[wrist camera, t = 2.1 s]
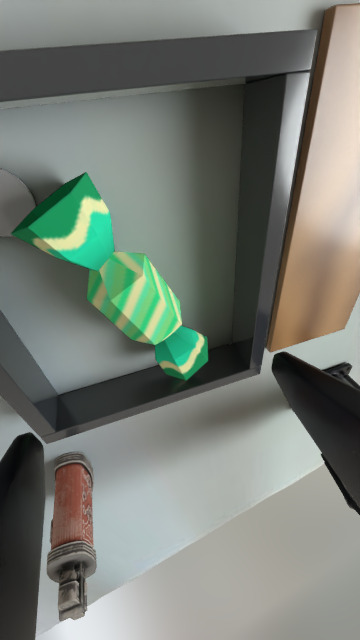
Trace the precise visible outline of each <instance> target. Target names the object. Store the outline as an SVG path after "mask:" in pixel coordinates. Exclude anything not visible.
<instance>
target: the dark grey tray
mask: <svg viewBox="0 0 360 640" xmlns="http://www.w3.org/2000/svg"><path fill="white" fill-rule="evenodd" d="M316 35H317V29H308V30H293V31H278V32H264V33H249V34H235V35H220V36H206V37H191V38H177V39H162V40H148V41H133V42H119V43H104V44H90V45H75V46H60V47H46V48H31V49H17V50H2V51H0V109H8V108H18V107H27V106H37V105H46V104H55V103H65V102H74V101H84V100H93V99H102V98H112V97H121V96H131V95H140V94H149V93H159V92H168V91H178V90H187V89H196V88H206V87H215V86H225V85H234V84H244V83H246V84H245V93H244V113H243V133H242V153H241V173H240V193H239V212H238V232H237V252H236V272H235V292H234V312H233V332H232V344H229V345H226V346H222V347H219V348H216V349H212V350H209V351H208V361H207V362H206V363H205V364H204V365H203V366H202V367H201V368H200V369H199V370H198V371H196V372H195V373H194V374H193V375H192V376H191V377H190V378H189V379H188V380H187V381H186V380H183V379H180V378H177V377H173V376H170V375H167V374H166V373H165V372H164V370H163V369H162V367H161V366H160V365H159V366H156V367H153V368H149V369H146V370H143V371H139V372H136V373H133V374H129V375H126V376H123V377H119V378H116V379H113V380H109V381H106V382H103V383H99V384H96V385H93V386H89V387H86V388H83V389H79V390H76V391H73V392H69V393H66V394H63V395H59V396H58V394H57V392H56V391H55V389H54V388H53V387H52V385H51V384H50V382H49V381H48V379H47V378H46V376H45V375H44V373H43V372H42V370H41V369H40V368H39V366H38V365H37V363H36V362H35V360H34V359H33V357H32V356H31V354H30V353H29V351H28V350H27V349H26V347H25V346H24V344H23V343H22V341H21V340H20V338H19V337H18V335H17V334H16V332H15V331H14V329H13V328H12V327H11V325H10V324H9V322H8V321H7V319H6V318H5V316H4V315H3V313H2V312H1V310H0V395H1V396H2V397H3V398H4V399H5V400H6V401H7V402H8V403H9V404H10V405H11V406H12V407H13V409H14V410H15V411H16V412H17V413H18V414H19V415H20V416H21V417H22V418H23V419H24V420H25V421H26V422H27V424H28V425H29V426H30V427H31V428H32V429H33V430H34V431H35V432H36V433H37V434H38V435H39V436H40V437H41V438H42V440H43V441H44V442H45V443H46V444H48V443H51V442H55V441H58V440H61V439H64V438H67V437H70V436H73V435H76V434H79V433H82V432H85V431H88V430H91V429H94V428H97V427H100V426H103V425H106V424H109V423H112V422H115V421H118V420H121V419H124V418H127V417H130V416H133V415H136V414H139V413H142V412H145V411H148V410H152V409H155V408H158V407H161V406H164V405H167V404H170V403H173V402H176V401H179V400H182V399H185V398H188V397H191V396H194V395H197V394H200V393H203V392H206V391H209V390H212V389H215V388H218V387H221V386H224V385H227V384H230V383H233V382H236V381H239V380H242V379H245V378H249V377H252V376H255V375H258V374H260V370H261V365H262V359H263V353H264V347H265V341H266V335H267V329H268V323H269V317H270V311H271V305H272V299H273V293H274V287H275V281H276V275H277V269H278V263H279V257H280V251H281V245H282V239H283V233H284V227H285V221H286V215H287V209H288V203H289V197H290V191H291V185H292V179H293V173H294V167H295V161H296V155H297V149H298V143H299V137H300V131H301V125H302V119H303V113H304V107H305V101H306V95H307V89H308V83H309V77H310V70H311V65H312V59H313V53H314V47H315V41H316ZM35 207H36V204H35V200H34V198H33V196H32V194H31V192H30V190H29V189H28V188H27V186H26V185H25V184H24V183H23V182H22V181H21V180H20V179H19V178H18V177H16V176H15V175H13V174H12V173H10V172H8V171H6V170H4V169H1V168H0V236H6V237H11V236H14V235H12V234H11V232H12V231H13V230H14V229H15V228H16V227H17V226H18V225H19V224H20V223H21V222H22V220H23V219H24V218H25V217H26V216H27V215H28V214H29V213H30V212H31V211H32V210H33V209H34V208H35Z"/></svg>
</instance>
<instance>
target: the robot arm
mask: <svg viewBox="0 0 360 640" xmlns="http://www.w3.org/2000/svg"><path fill="white" fill-rule="evenodd" d="M351 368H352V365H351V364H349V363H346V364H344V365H341V366H338V367H335V368H332V369H329V370H326V371H322V370H320V369H318V368H316V367H314V366H312V365H310V364H308V363H307V362H305V361H303V360H301V359H299V358H297V357H295V356H293V355H291V354H289V353H287V352H280V353H277V354H275V355H274V358H273V363H272V372H273V375H274V376H275V378H276V380H277V382H278V384H279V386H280V388H281V389H282V391H283V393H284V395H285V397H286V399H287V401H288V402H289V404H290V406H291V408H292V410H293V412H295V414H296V415H297V417H298V418H299V420H300V421H301V423H302V424H303V426H304V427H305V428H306V430H307V431H308V433H309V434H310V436H311V437H312V439H313V440H314V442H315V443H316V445H317V446H318V448H319V449H320V450H321V452H322V454H321V456H322V458H323V460H324V461H325V462H324V463H325V465H326V466H327V468H328V470H329V472H330V473H331V475H332V477H333V478H334V480H335V482H336V484H337V485H338V487H339V489H340V490H341V492H342V494H343V496H344V498H345V500H346V502H347V504H348V506H349V507H350V508H352V509H354V510H356V512H357V513H358V514H359V515H360V386H359V385H358V384H357V383H356V382H355V381H354V380H353V379H352V378H351V377H350V376H349V375H348V374H349V372H350V370H351ZM44 510H45V473H44V449H43V445H42V443H41V442H40V441H39V440H38V439H37V438H36V437H35V436H34V435H33V434H32V433H30V432H29V433H25V434H22V435H19V436H17V437H16V438H15V439H14V441H13V442H12V444H11V446H10V447H9V449H8V450H7V452H6V453H5V455H4V457H3V458H2V460H1V461H0V640H35V633H36V619H37V606H38V592H39V578H40V565H41V551H42V537H43V523H44Z"/></svg>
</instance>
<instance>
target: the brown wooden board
mask: <svg viewBox="0 0 360 640" xmlns="http://www.w3.org/2000/svg"><path fill="white" fill-rule="evenodd" d="M359 293H360V3H358V4H338V5H334V6H332V7H330V8H328V9H326V11H325V15H324V21H323V27H322V33H321V38H320V44H319V50H318V55H317V61H316V67H315V73H314V78H313V84H312V90H311V96H310V101H309V107H308V113H307V118H306V124H305V130H304V136H303V141H302V147H301V153H300V159H299V164H298V170H297V176H296V181H295V187H294V193H293V199H292V204H291V210H290V216H289V222H288V227H287V233H286V239H285V245H284V250H283V256H282V262H281V267H280V273H279V279H278V285H277V290H276V296H275V302H274V308H273V313H272V319H271V325H270V330H269V336H268V342H267V350H268V351H269V352H273V351H276V350H279V349H282V348H286V347H289V346H292V345H295V344H298V343H301V342H305V341H308V340H311V339H314V338H317V337H320V336H324V335H327V334H330V333H333V332H336V331H339V330H343V329H345V326H346V324H347V322H348V319H349V317H350V315H351V312H352V310H353V307H354V305H355V303H356V300H357V298H358V296H359Z"/></svg>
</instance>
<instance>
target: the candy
mask: <svg viewBox="0 0 360 640" xmlns="http://www.w3.org/2000/svg"><path fill="white" fill-rule="evenodd" d="M11 234H12V235H14V236H15V237H17V238H19V239H21V240H23V241H25V242H27V243H29V244H31V245H33V246H35V247H37V248H39V249H41V250H43V251H45V252H46V253H48V254H50V255H52V256H54V257H56V258H59V259H62V260H65V261H67V262H70V263H73V264H76V265H79V266H82V267H85V268H87V269H90V270H89V280H88V291H87V300H88V301H89V302H91V303H92V304H93V305H94V306H95V307H96V308H97V309H98V310H99V311H100V312H102V313H103V314H104V315H105V316H106V317H107V318H108V319H109V320H110V321H111V322H112V323H114V324H115V325H116V326H117V327H118V328H119V329H120V330H121V331H122V332H123V333H125V334H126V335H127V336H128V337H129V338H130V339H131V340H135V341H140V342H144V343H148V344H153V345H155V358H156V361H157V362H158V363H159V365H160V366H161V367H162V369H163V370H164V372H165V373H166V374H167V375H170V376H173V377H177V378H180V379H183V380H186V381H187V380H188V379H189V378H190V377H191V376H192V375H193V374H194V373H195V372H196V371H198V370H199V369H200V368H201V367H202V366H203V365H204V364H205V363H206V362H207V361H208V343H207V337H205V336H204V335H202V334H200V333H198V332H196V331H194V330H192V329H189V328H187V327H184V326H181V325H182V321H181V309H180V301H179V300H178V299H177V297H176V296H175V295H174V293H173V292H172V291H171V289H170V288H169V286H168V285H167V284H166V282H165V281H164V280H163V278H162V277H161V276H160V274H159V273H158V272H157V270H156V269H155V267H154V266H153V265H152V263H151V262H150V261H149V259H148V258H147V257H146V255H145V254H139V253H127V252H115V250H114V241H113V233H112V224H111V216H110V212H109V211H108V209H107V207H106V205H105V204H104V202H103V200H102V198H101V197H100V195H99V193H98V191H97V190H96V188H95V186H94V184H93V183H92V181H91V179H90V177H89V176H88V174H87V172H86V173H84V174H82V175H80V176H78V177H76V178H74V179H72V180H71V181H69V182H67V183H65V184H64V185H63V186H61V187H60V188H59V189H58V190H56V191H55V192H54V193H53V194H51V195H50V196H49V197H48V198H47V199H45V200H44V201H43V202H42V203H40V204H39V205H38V206H37V207H35V208H34V209H33V210H32V211H31V212H30V213H29V214H28V215H27V216H26V217H25V218H24V219H23V220H22V222H21V223H20V224H19V225H18V226H17V227H16V228H15V229H14V230H13V231H12V232H11Z"/></svg>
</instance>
